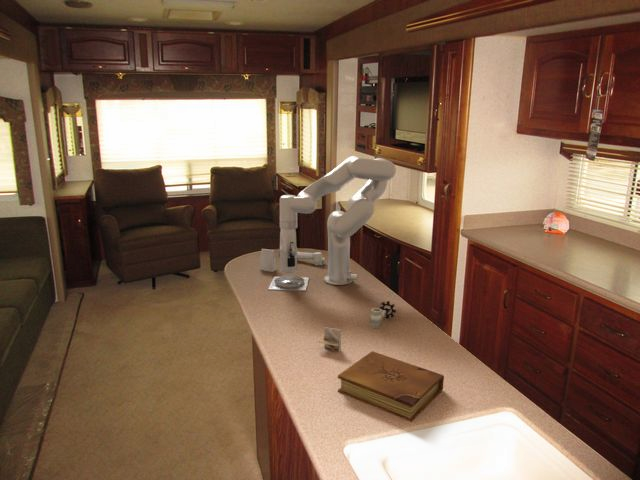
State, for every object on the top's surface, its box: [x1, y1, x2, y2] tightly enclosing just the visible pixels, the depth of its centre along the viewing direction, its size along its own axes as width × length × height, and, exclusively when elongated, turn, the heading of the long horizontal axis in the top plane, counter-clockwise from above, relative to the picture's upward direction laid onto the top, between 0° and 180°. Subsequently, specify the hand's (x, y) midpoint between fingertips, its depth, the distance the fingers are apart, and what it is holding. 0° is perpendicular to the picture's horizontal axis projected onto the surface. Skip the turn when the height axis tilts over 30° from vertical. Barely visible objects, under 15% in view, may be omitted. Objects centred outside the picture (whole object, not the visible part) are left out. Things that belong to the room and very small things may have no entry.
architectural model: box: [317, 326, 342, 353], centre depth 168 cm, size 3×7×7 cm, turn 70°
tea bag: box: [259, 248, 277, 273], centre depth 245 cm, size 4×7×10 cm, turn 66°
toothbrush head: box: [278, 251, 326, 266], centre depth 259 cm, size 5×7×25 cm
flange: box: [267, 275, 310, 292], centre depth 228 cm, size 16×16×2 cm
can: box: [279, 245, 298, 274], centre depth 225 cm, size 8×8×12 cm
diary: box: [337, 350, 445, 423], centre depth 145 cm, size 23×19×6 cm
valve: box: [369, 300, 397, 330], centre depth 188 cm, size 7×7×12 cm
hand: (288, 263), depth 226 cm, fingers closed on can, 7 cm apart
